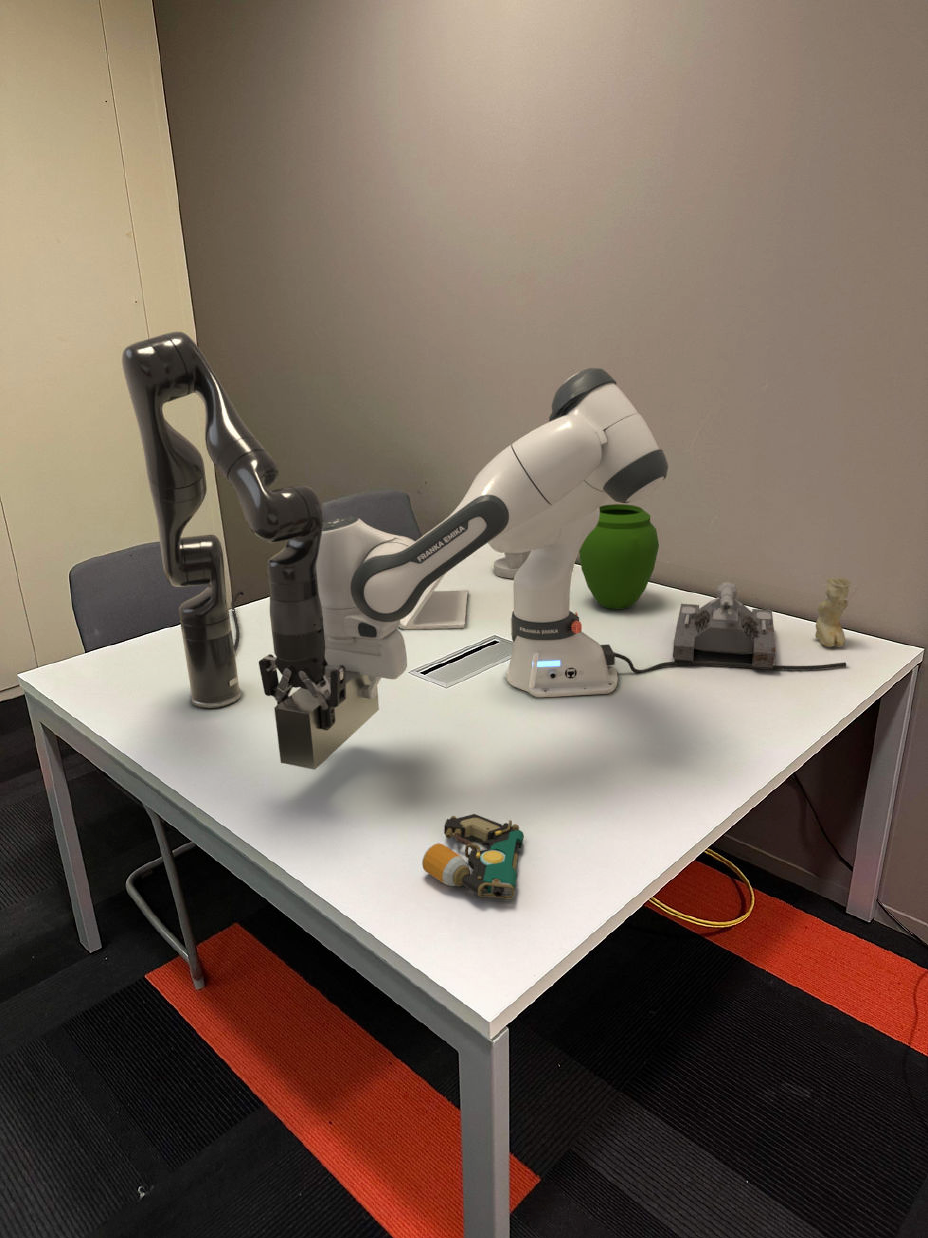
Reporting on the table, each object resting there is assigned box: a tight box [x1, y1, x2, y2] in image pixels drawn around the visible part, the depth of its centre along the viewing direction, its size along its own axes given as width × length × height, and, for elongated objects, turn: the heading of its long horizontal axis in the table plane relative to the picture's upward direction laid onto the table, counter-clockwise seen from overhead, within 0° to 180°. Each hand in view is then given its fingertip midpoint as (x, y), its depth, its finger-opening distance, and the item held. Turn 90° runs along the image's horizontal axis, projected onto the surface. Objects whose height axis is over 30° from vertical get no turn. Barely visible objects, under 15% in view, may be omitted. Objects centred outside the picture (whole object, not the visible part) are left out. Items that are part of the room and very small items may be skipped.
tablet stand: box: [398, 572, 468, 630], centre depth 211 cm, size 18×25×17 cm
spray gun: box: [421, 813, 525, 900], centre depth 117 cm, size 4×17×15 cm
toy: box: [672, 581, 777, 670], centre depth 184 cm, size 25×20×15 cm
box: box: [274, 670, 380, 771], centre depth 137 cm, size 21×6×10 cm, turn 158°
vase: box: [578, 503, 660, 610], centre depth 210 cm, size 20×20×24 cm
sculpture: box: [814, 576, 852, 648], centre depth 185 cm, size 6×7×15 cm
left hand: (307, 724), depth 131 cm, fingers open, 6 cm apart
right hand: (351, 694), depth 143 cm, fingers closed on box, 6 cm apart
